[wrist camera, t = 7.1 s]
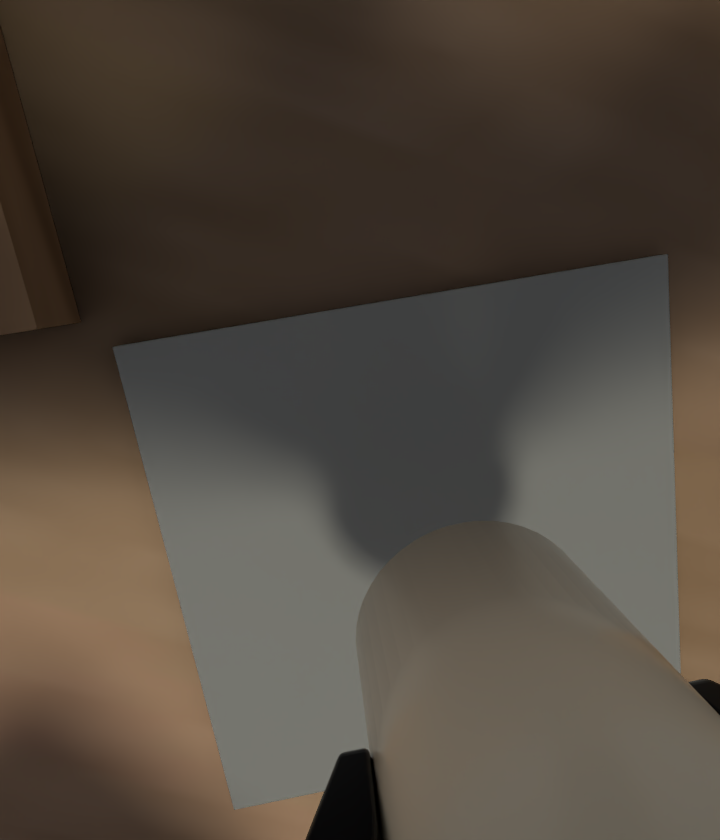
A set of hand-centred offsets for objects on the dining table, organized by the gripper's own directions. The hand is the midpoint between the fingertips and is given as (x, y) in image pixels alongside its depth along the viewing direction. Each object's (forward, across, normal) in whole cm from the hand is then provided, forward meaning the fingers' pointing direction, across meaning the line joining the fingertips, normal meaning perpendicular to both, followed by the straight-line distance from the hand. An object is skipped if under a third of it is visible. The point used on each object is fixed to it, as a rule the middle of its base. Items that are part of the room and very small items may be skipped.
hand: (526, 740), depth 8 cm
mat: (+6, 0, 0) cm, 6 cm away
